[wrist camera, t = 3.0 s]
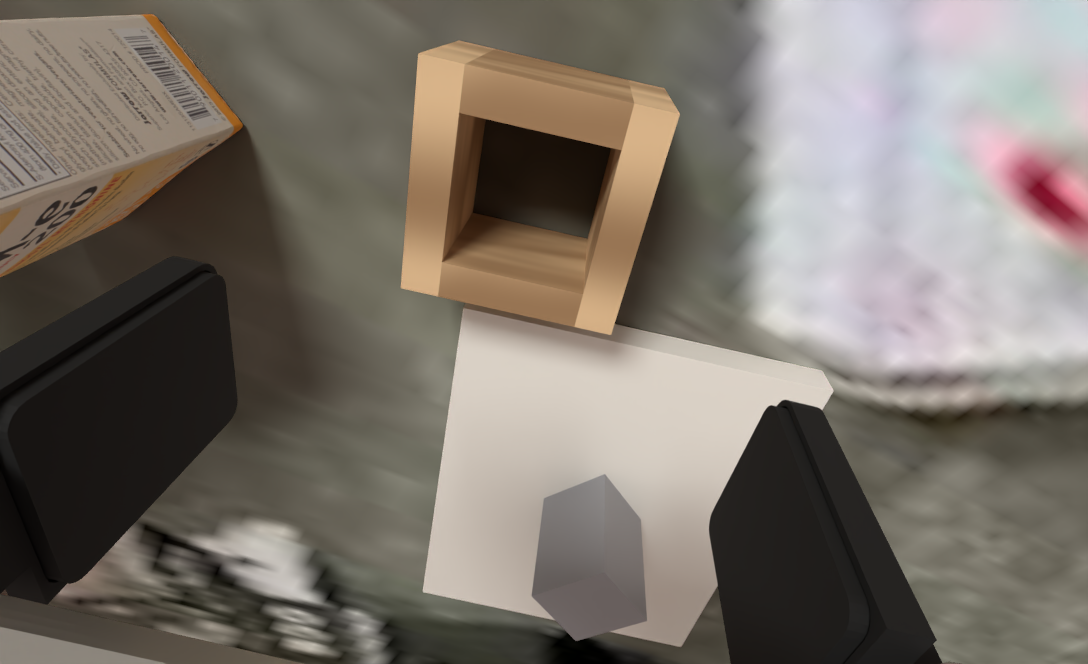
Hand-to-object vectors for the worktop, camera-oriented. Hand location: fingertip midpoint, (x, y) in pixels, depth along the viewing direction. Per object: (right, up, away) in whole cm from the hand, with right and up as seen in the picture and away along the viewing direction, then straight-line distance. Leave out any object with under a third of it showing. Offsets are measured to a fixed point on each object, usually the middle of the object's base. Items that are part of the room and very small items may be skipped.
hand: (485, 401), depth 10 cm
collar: (+1, +8, +12) cm, 14 cm away
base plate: (+4, -7, +20) cm, 22 cm away
